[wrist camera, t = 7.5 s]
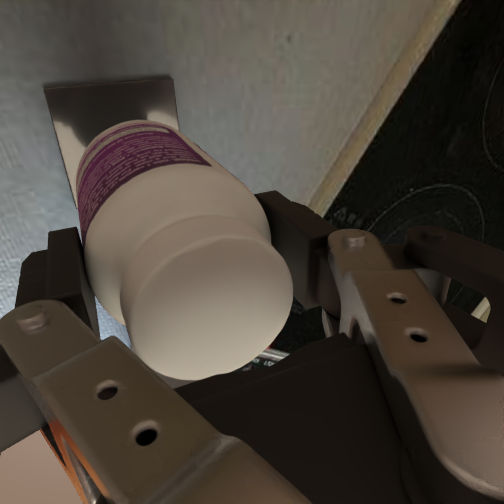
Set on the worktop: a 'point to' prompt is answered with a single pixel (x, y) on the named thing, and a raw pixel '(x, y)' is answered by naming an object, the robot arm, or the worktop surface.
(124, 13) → the worktop surface
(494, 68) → the worktop surface
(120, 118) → the metal coaster
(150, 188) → the pill bottle
